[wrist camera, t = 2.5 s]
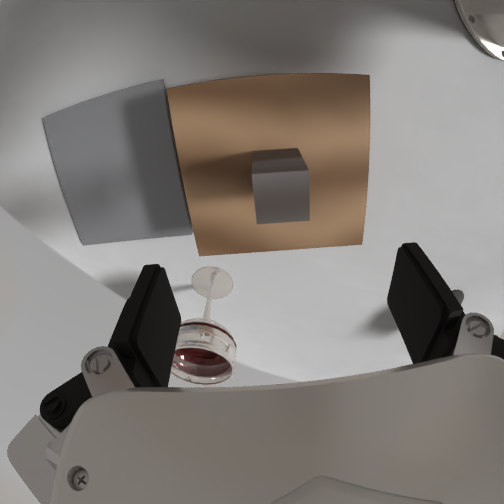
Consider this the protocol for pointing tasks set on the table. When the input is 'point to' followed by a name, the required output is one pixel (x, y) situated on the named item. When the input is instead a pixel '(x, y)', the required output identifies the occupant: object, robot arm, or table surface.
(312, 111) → the cover
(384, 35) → the table surface
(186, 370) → the wineglass
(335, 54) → the table surface
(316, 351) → the table surface
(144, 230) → the mat
